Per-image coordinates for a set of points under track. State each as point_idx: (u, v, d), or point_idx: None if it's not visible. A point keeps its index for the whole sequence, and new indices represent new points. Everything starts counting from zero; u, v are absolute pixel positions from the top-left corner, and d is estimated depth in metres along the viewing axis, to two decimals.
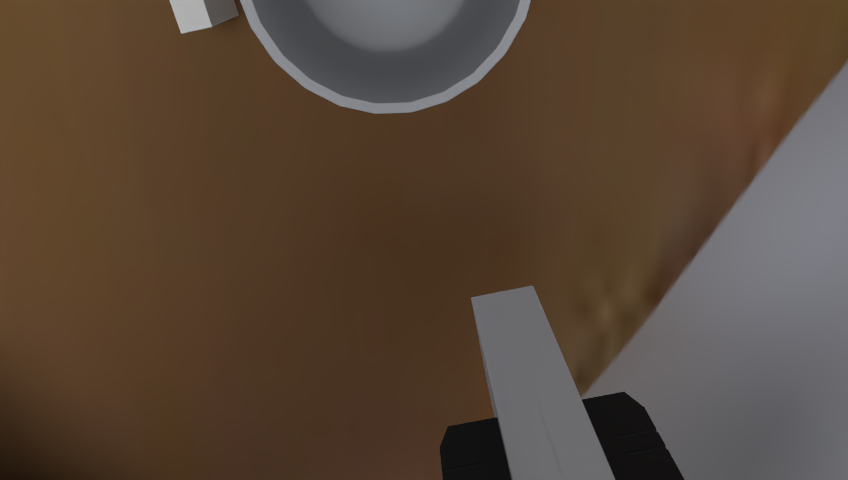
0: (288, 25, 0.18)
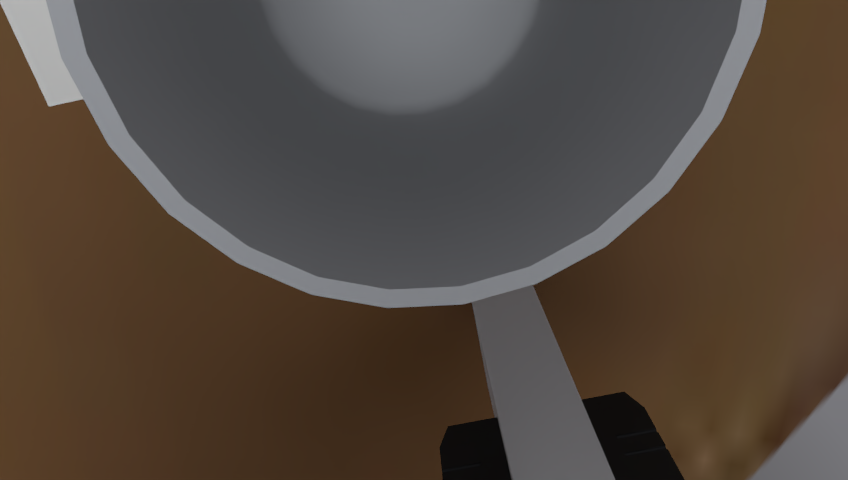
0: (223, 104, 0.09)
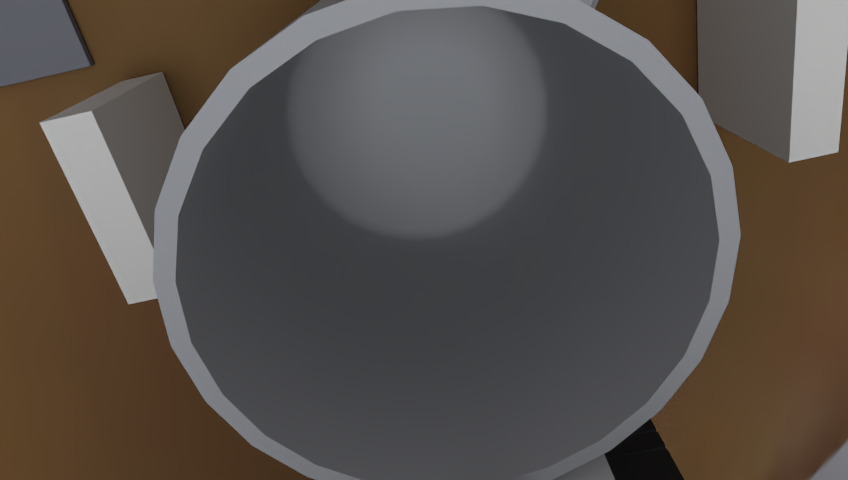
0: (278, 300, 0.11)
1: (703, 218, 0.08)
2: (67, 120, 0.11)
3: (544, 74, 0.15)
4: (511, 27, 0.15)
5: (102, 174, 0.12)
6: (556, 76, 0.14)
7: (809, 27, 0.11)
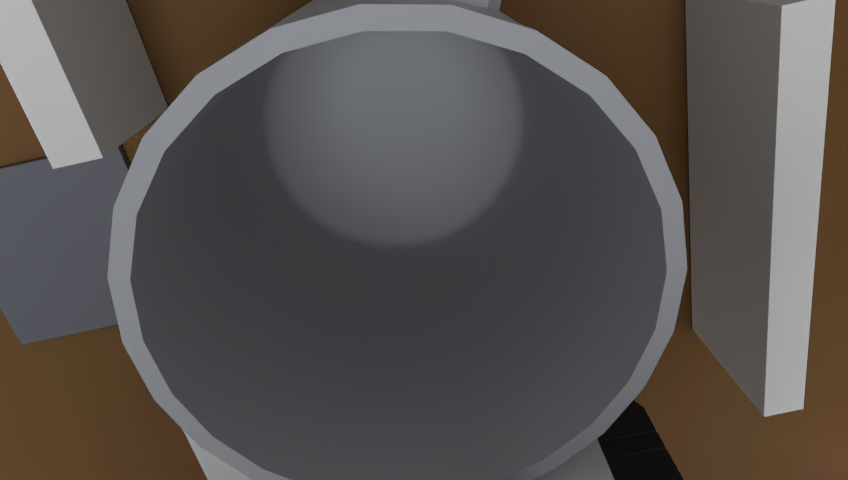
0: (272, 333, 0.11)
1: (645, 190, 0.08)
2: None
3: (509, 61, 0.15)
4: None
5: None
6: (518, 62, 0.14)
7: (778, 330, 0.15)
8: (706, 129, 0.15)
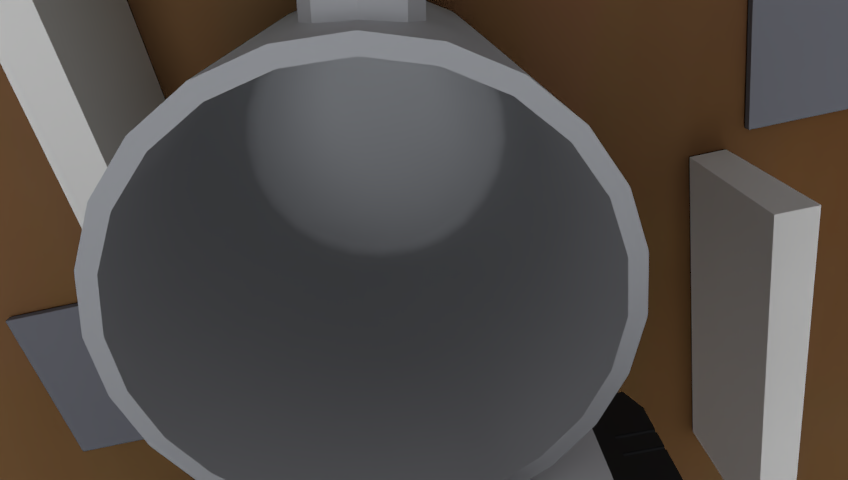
0: (272, 360, 0.12)
1: (594, 179, 0.08)
2: None
3: None
4: None
5: None
6: None
7: (770, 462, 0.16)
8: (707, 276, 0.17)
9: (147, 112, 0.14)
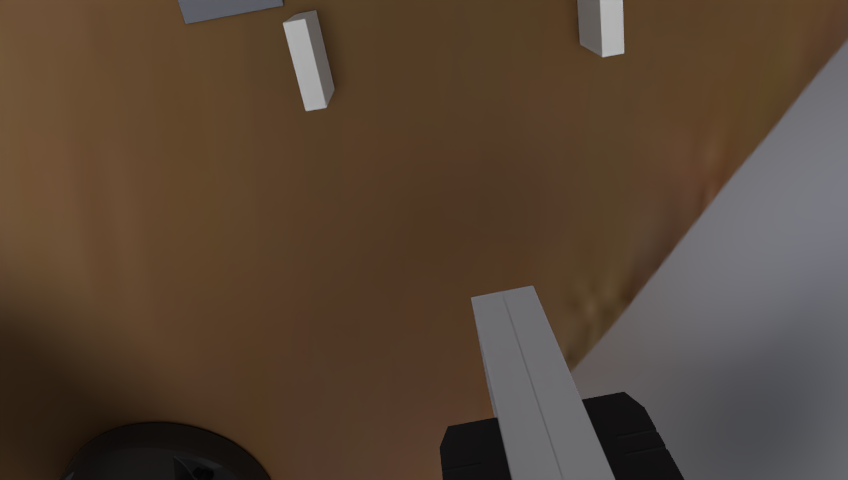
0: None
1: None
2: (294, 22, 0.27)
3: None
4: None
5: (304, 47, 0.28)
6: None
7: None
8: None
9: None
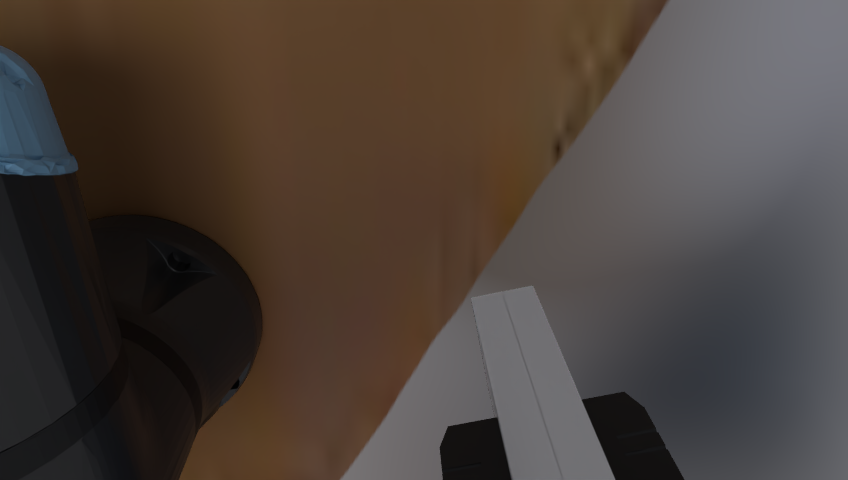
0: None
1: None
2: None
3: None
4: None
5: None
6: None
7: None
8: None
9: None
